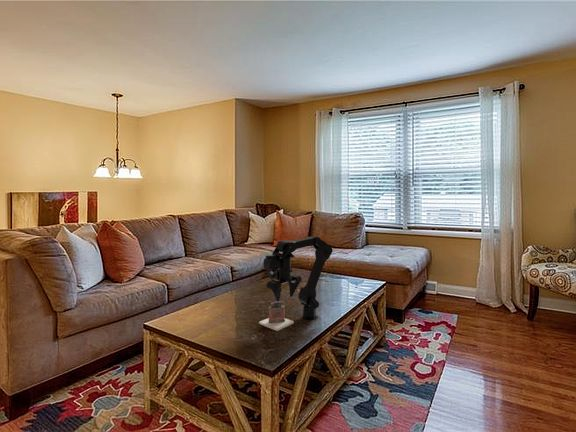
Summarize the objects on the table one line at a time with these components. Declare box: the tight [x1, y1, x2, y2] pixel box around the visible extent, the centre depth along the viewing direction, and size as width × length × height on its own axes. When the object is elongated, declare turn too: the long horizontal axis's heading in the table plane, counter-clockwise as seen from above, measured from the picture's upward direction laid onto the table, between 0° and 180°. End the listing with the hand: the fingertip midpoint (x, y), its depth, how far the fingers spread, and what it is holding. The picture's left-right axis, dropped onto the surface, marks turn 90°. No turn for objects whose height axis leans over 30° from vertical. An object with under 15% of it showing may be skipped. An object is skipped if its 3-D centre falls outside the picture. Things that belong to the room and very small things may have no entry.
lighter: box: [268, 300, 286, 323], centre depth 168 cm, size 8×3×10 cm, turn 104°
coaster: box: [258, 317, 295, 332], centre depth 169 cm, size 12×12×1 cm
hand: (284, 298), depth 166 cm, fingers open, 9 cm apart
